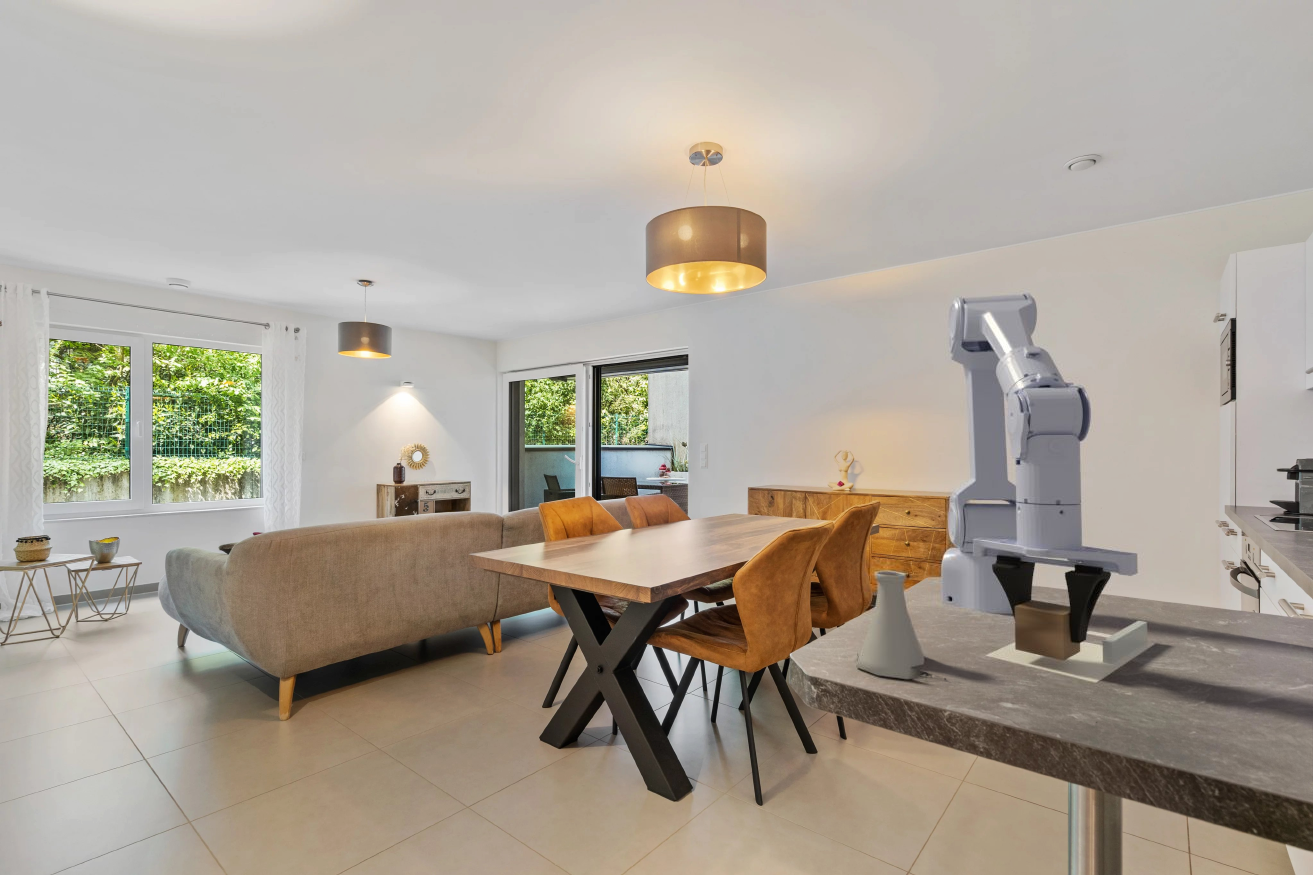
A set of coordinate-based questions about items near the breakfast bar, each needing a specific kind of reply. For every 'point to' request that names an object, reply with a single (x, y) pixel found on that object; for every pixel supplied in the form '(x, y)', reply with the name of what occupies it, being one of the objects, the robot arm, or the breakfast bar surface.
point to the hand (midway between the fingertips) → (1050, 635)
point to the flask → (891, 633)
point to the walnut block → (1044, 630)
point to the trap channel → (1087, 654)
